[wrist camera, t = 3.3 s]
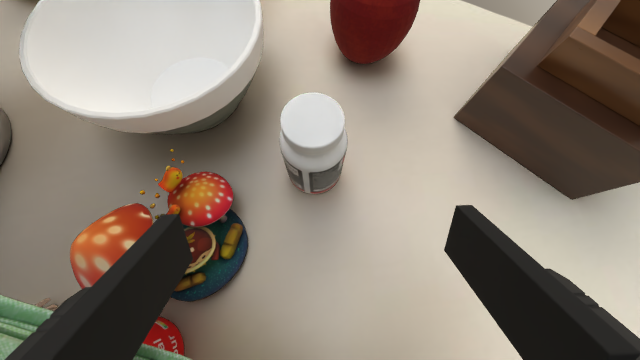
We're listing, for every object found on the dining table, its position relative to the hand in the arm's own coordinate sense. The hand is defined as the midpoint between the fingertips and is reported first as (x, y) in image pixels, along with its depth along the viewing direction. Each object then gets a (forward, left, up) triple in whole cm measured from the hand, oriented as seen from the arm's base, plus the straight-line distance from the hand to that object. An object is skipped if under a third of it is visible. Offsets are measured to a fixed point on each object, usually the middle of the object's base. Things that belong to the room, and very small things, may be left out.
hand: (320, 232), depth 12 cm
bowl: (+3, +23, -13) cm, 27 cm away
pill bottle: (+6, +6, -13) cm, 15 cm away
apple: (+23, +13, -13) cm, 29 cm away
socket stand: (+30, -9, -13) cm, 34 cm away
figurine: (-8, +9, -13) cm, 17 cm away
